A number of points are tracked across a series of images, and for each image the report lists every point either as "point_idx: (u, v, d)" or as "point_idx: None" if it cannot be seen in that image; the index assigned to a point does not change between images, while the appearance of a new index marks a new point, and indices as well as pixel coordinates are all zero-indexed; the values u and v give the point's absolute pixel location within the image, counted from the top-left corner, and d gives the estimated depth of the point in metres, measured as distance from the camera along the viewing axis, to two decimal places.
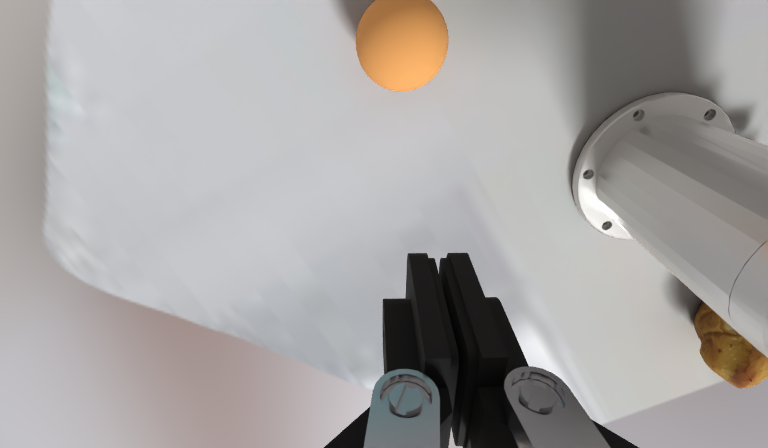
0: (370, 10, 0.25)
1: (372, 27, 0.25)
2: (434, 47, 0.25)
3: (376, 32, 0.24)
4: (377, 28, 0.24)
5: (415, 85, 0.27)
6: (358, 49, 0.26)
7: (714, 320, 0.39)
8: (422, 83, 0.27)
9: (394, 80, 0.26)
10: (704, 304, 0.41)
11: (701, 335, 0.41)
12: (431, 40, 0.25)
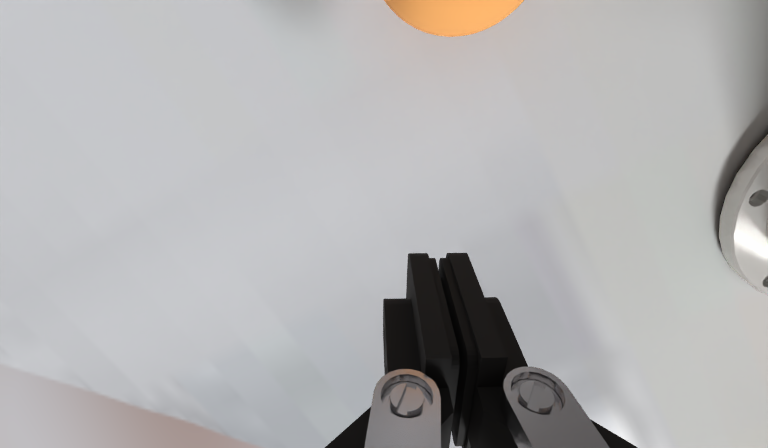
0: None
1: None
2: None
3: None
4: None
5: (484, 19, 0.13)
6: None
7: None
8: (498, 15, 0.13)
9: (443, 3, 0.12)
10: None
11: None
12: None
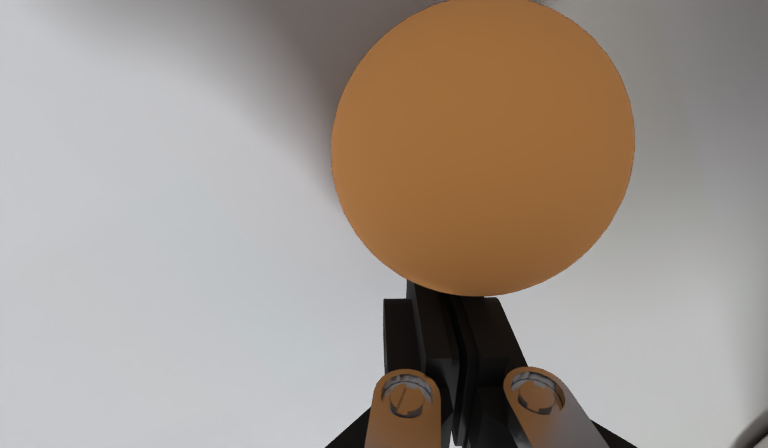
0: None
1: None
2: (591, 36, 0.07)
3: None
4: None
5: (557, 142, 0.06)
6: (335, 116, 0.08)
7: None
8: (585, 150, 0.06)
9: (461, 89, 0.06)
10: None
11: None
12: None
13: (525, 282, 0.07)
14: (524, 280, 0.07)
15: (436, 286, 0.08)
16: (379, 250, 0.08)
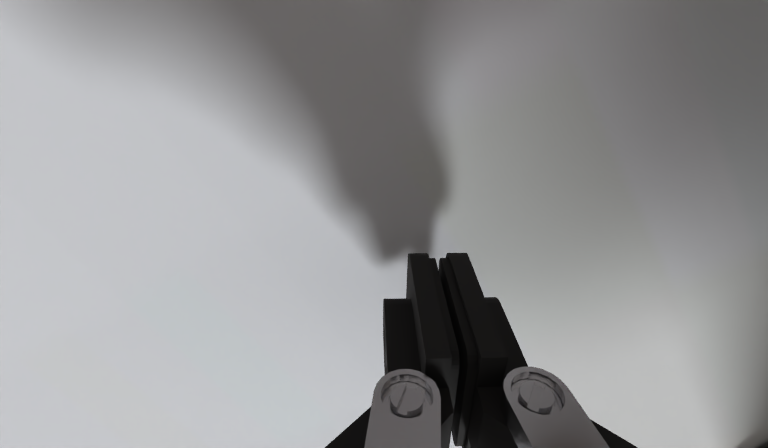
0: None
1: None
2: None
3: None
4: None
5: None
6: None
7: None
8: None
9: None
10: None
11: None
12: None
13: None
14: None
15: None
16: None
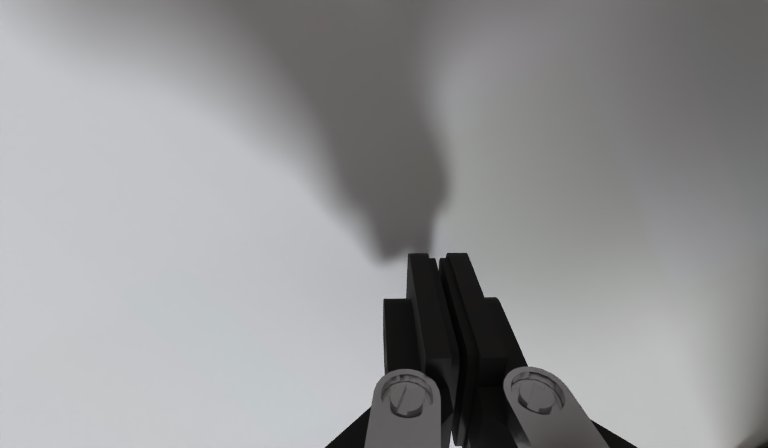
0: None
1: None
2: None
3: None
4: None
5: None
6: None
7: None
8: None
9: None
10: None
11: None
12: None
13: None
14: None
15: None
16: None
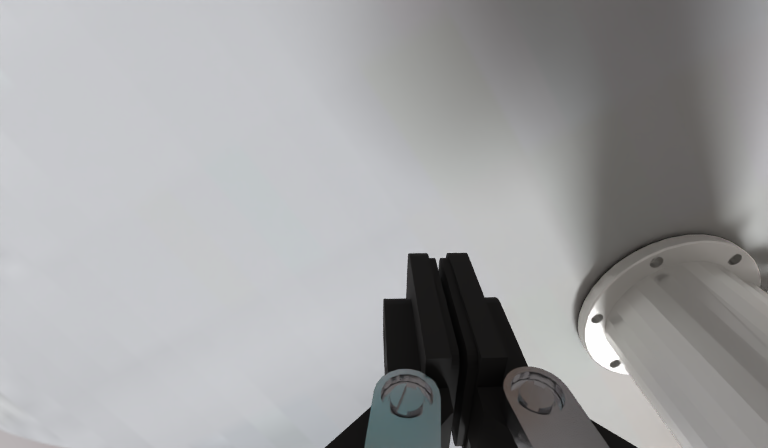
0: None
1: None
2: None
3: None
4: None
5: None
6: None
7: None
8: None
9: None
10: None
11: None
12: None
13: None
14: None
15: None
16: None
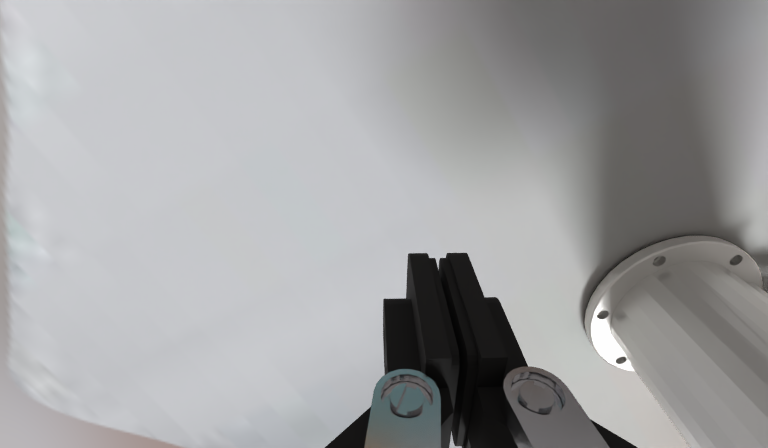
0: None
1: None
2: None
3: None
4: None
5: None
6: None
7: None
8: None
9: None
10: None
11: None
12: None
13: None
14: None
15: None
16: None
